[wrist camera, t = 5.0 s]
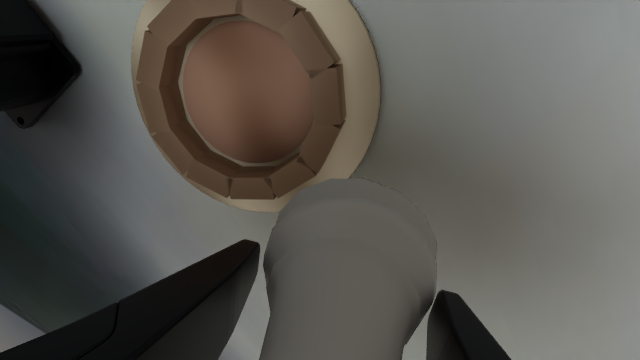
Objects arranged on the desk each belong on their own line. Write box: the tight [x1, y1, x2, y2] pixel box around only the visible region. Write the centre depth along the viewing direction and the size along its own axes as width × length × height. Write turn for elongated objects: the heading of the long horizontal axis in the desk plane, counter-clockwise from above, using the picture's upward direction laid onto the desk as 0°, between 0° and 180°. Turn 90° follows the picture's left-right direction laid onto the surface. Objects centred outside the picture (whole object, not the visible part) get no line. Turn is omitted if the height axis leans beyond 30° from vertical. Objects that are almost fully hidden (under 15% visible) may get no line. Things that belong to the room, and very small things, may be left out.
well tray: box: [131, 0, 381, 212], centre depth 18 cm, size 13×13×3 cm
